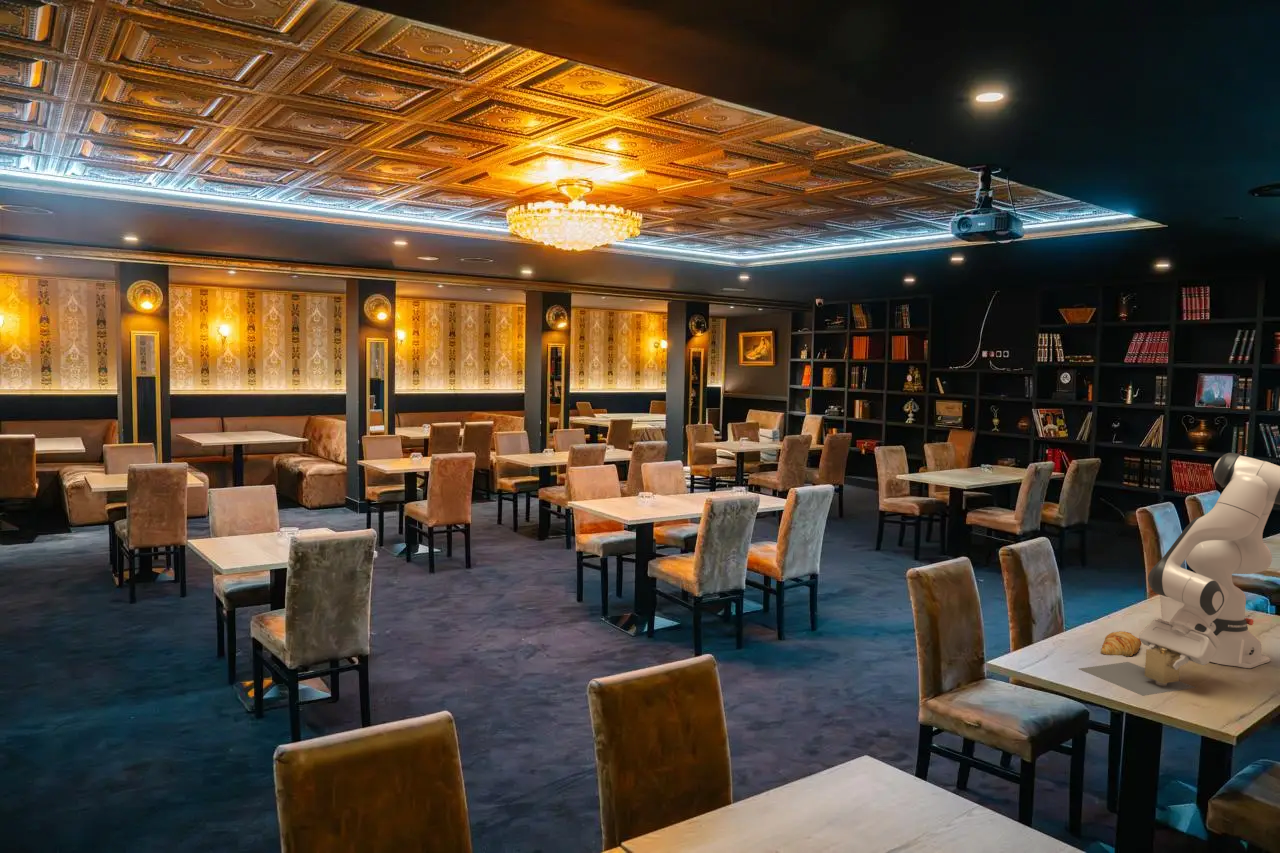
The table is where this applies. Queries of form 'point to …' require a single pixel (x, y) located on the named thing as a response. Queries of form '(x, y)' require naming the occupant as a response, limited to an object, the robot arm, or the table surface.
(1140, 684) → the charcoal mat
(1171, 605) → the foam cup
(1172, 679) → the brass knob block
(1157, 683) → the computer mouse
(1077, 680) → the table surface
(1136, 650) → the croissant
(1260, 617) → the table surface
